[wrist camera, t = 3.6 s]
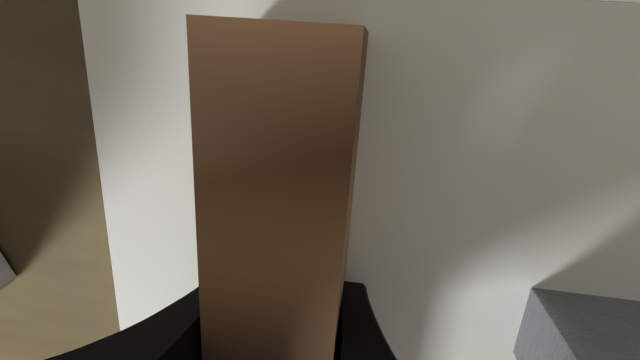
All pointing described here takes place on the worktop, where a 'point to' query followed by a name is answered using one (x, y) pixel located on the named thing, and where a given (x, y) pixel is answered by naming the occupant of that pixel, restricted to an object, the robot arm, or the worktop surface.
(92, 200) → the worktop surface
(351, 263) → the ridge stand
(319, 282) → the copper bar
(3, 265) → the skincare box
